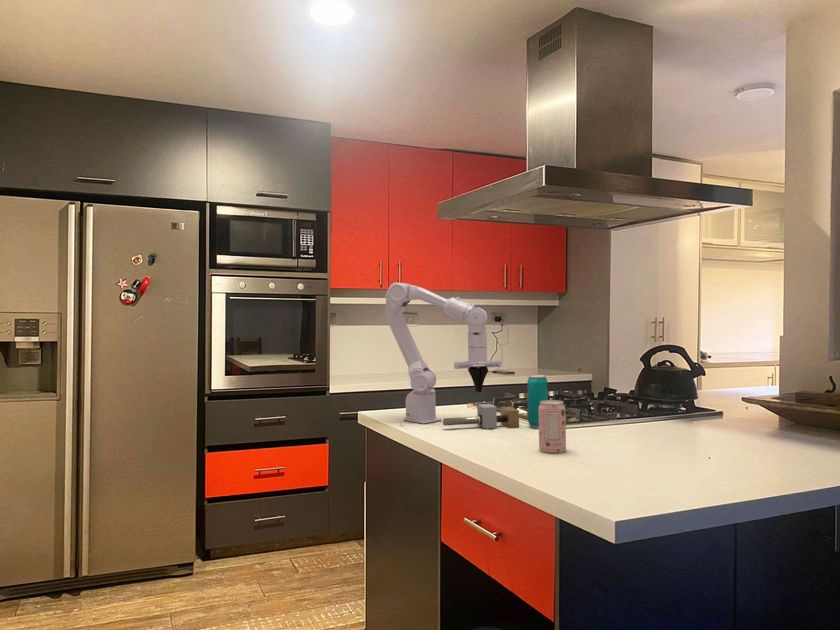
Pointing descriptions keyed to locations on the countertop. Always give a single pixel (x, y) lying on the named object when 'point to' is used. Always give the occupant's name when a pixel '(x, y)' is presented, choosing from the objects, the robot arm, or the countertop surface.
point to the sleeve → (487, 415)
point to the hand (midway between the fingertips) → (478, 391)
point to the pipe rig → (506, 418)
